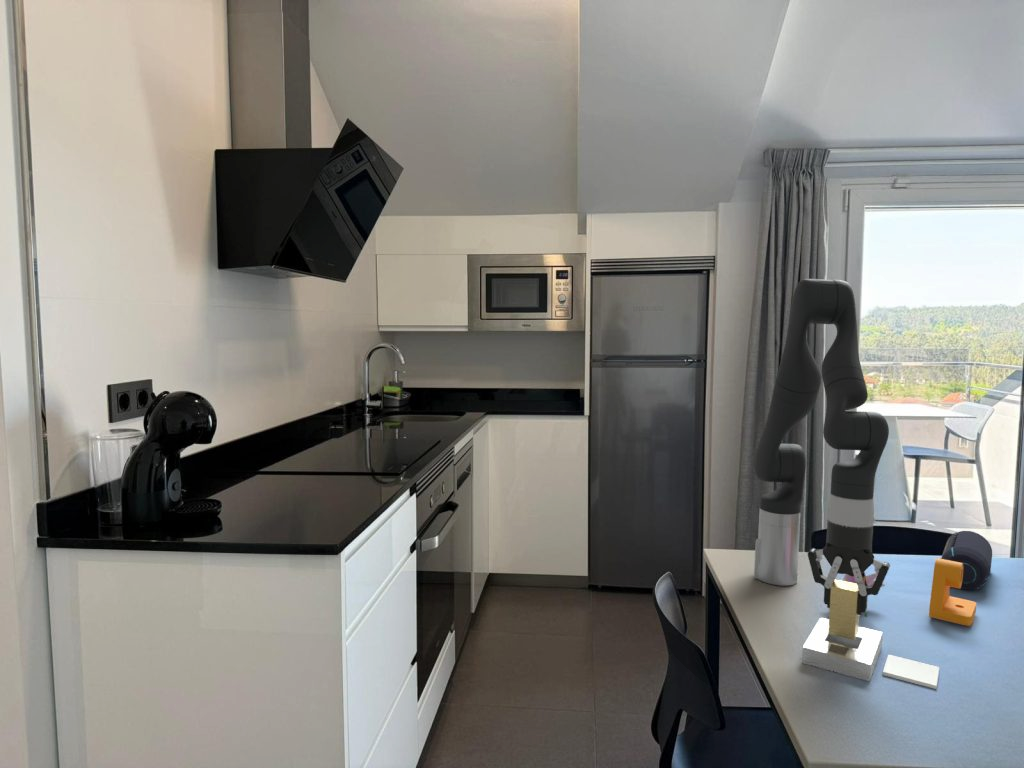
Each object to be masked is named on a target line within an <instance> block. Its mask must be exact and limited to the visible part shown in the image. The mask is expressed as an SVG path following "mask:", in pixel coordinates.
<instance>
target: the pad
mask: <svg viewBox="0 0 1024 768" xmlns="http://www.w3.org/2000/svg"><path fill="white" fill-rule="evenodd" d="M939 674H940V666H936V665H932V664H928V663H923V662H920V661H916V660H913V659H908V658H905V657H900V656H896V655H891V654H889V653H888V655H887V657H886V661H885V664H884V667H883V671H882V676H885V677H889V678H892V679H897V680H901V681H904V682H909V683H912V684H915V685H920V686H923V687H926V688H931V689H934V690H937V687H938V683H939V682H938V680H939Z"/></svg>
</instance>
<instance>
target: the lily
mask: <svg viewBox="0 0 1024 768" xmlns="http://www.w3.org/2000/svg"><path fill="white" fill-rule="evenodd" d="M877 575H878V573H876V572H875V573H871V574H869V575H866V581H867V585H868V586H873V584H874V582H875V580H876V577H877ZM842 581H846V582H851V583H856V581H855V577H854V576H850V575H848V574H843V579H842ZM885 585H886V584H884V582H883V583H882V585H881V588H882V587H885ZM864 614H865V617H868V615H867V611H865V613H864Z"/></svg>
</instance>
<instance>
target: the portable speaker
mask: <svg viewBox="0 0 1024 768" xmlns="http://www.w3.org/2000/svg"><path fill="white" fill-rule="evenodd" d="M940 559H945V560H950V561H955V562H960V563H963V579H962V585H961V588H960V589H962V590H970V591H971V590H976V589H977V590H978V589H980V588H981V587H983V586H984V585H985V584H986V583H987V582H988V580H989V578H990V575H991V572H992V571H991V570H992V569H991V568H992V561H993V548H992V546H991V544H990V542H989V541H988V540H987V539H986V538H985V537H984V536H982V535H981V534H979V533H978V532H974V531H971V530H960V531H957V532H954V533H953V534H952V535H950V536H949V537H948V538H947V541H946V543H945V546H944V549H943V552H942V555H941V558H940Z"/></svg>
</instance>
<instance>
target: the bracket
mask: <svg viewBox="0 0 1024 768" xmlns="http://www.w3.org/2000/svg"><path fill="white" fill-rule="evenodd" d="M933 567H934V568H933V576H932V584H931V591H930V600H929V608H928V609H929V610H928V617H929V618H934V619H938V620H942V621H946V622H951V623H954V624H959V625H963V626H969V627H972V626H973V624H974V621H975V618H976V613H977V602H976V601H973V600H969V599H964V598H960V597H956V596H951V595H950V588H955V589H961V585H962V579H963V563H960V562H955V561H950V560H945V559H941V558H939V557H936V558H935V562H934V566H933Z"/></svg>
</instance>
